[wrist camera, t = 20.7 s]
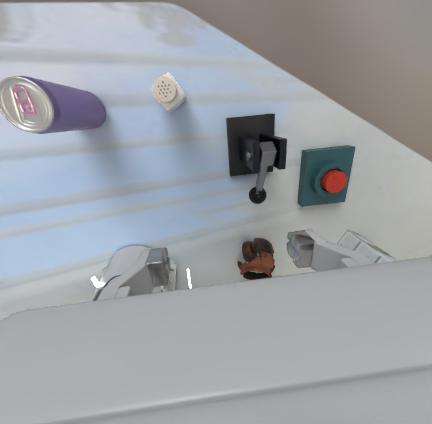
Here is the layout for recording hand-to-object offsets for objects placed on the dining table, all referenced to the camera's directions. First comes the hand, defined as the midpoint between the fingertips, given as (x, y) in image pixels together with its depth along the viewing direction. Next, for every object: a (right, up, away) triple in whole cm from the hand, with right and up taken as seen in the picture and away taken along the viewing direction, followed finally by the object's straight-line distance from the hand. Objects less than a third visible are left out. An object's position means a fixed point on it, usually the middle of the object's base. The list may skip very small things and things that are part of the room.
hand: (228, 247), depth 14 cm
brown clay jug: (+8, -7, +39) cm, 41 cm away
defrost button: (+23, +9, +28) cm, 38 cm away
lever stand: (+6, +16, +28) cm, 32 cm away
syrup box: (+34, -5, +40) cm, 53 cm away
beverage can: (-24, +21, +23) cm, 39 cm away
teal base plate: (+23, +11, +32) cm, 40 cm away
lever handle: (+7, +10, +23) cm, 26 cm away
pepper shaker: (-9, +23, +23) cm, 34 cm away
